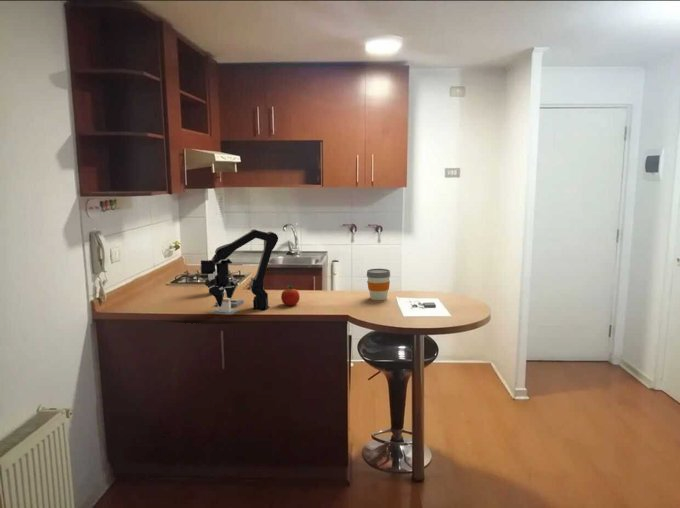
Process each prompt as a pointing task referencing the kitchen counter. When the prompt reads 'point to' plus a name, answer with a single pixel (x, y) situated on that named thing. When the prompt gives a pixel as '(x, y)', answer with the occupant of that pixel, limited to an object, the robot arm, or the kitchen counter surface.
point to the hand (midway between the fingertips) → (224, 304)
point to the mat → (225, 312)
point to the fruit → (290, 296)
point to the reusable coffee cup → (378, 283)
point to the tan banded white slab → (225, 305)
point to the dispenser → (234, 303)
